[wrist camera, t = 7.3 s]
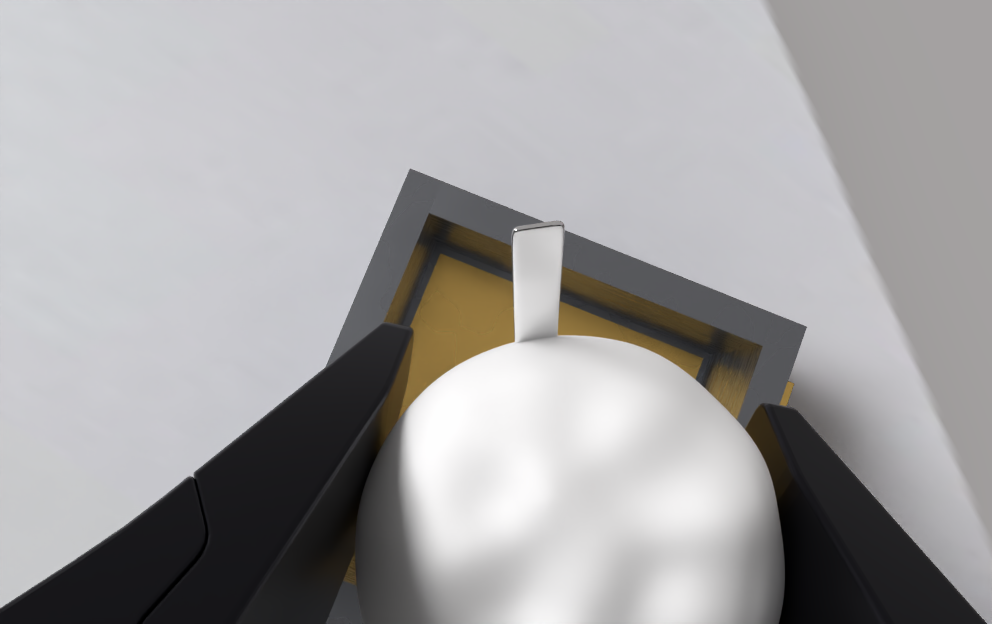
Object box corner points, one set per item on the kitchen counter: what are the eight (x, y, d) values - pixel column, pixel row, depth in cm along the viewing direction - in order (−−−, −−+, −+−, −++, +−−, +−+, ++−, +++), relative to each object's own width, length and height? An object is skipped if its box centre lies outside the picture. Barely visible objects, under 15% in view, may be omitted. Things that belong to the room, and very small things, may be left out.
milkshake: (604, 317, 16) (801, 186, 6) (644, 566, 16) (933, 851, 6) (399, 347, 16) (272, 259, 6) (432, 599, 15) (349, 952, 6)
